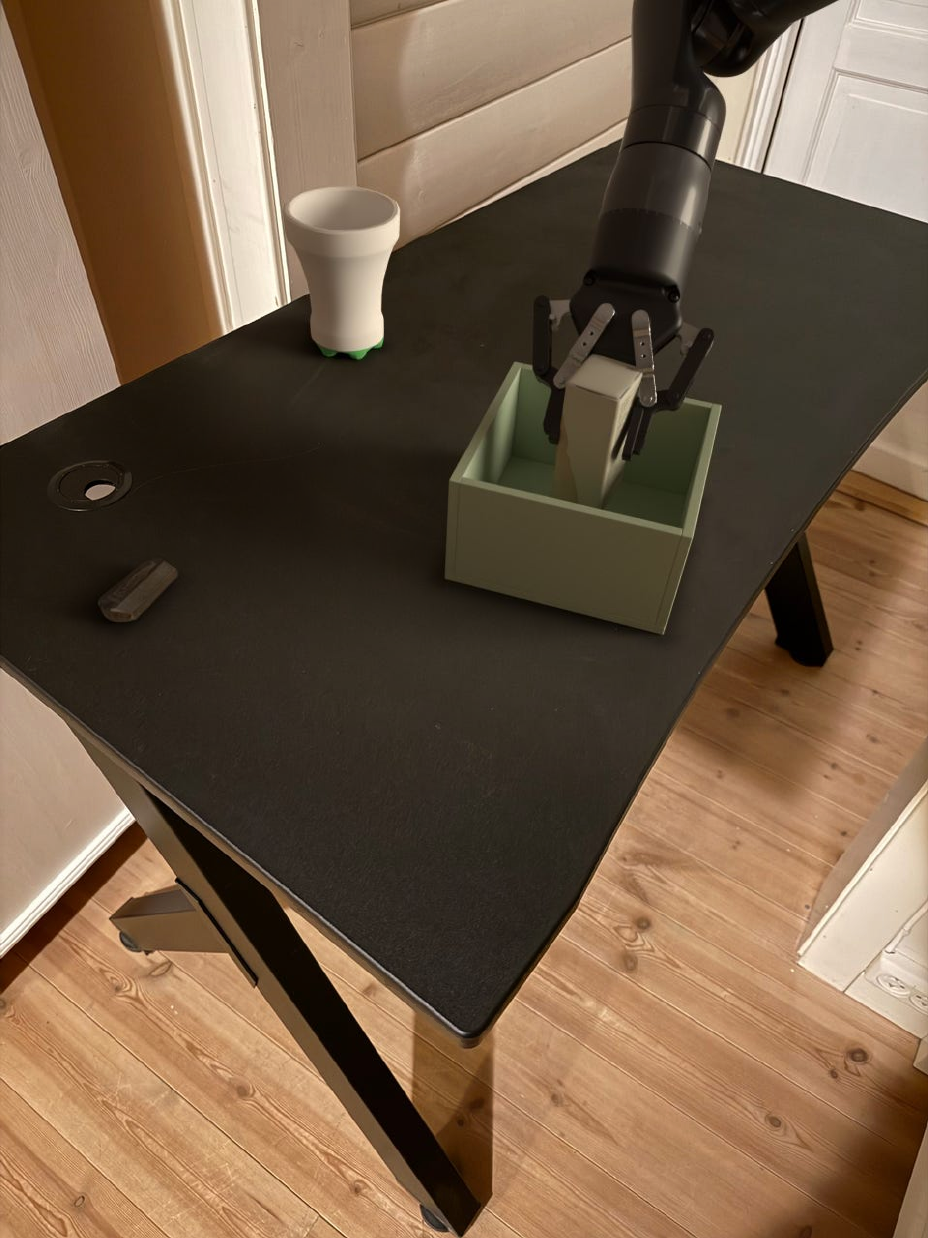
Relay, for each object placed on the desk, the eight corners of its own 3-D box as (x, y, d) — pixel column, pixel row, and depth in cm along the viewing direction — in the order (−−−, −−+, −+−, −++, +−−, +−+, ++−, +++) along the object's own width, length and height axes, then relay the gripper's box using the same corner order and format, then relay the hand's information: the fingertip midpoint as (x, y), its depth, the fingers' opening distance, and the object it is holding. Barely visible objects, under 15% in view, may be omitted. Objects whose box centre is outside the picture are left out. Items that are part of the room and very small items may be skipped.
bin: (694, 499, 81) (722, 404, 74) (663, 635, 69) (692, 538, 62) (504, 456, 84) (514, 361, 77) (444, 579, 72) (448, 480, 65)
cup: (421, 340, 98) (424, 206, 87) (353, 383, 91) (347, 243, 81) (342, 307, 102) (336, 175, 92) (272, 345, 95) (257, 208, 85)
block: (182, 582, 70) (178, 564, 69) (129, 631, 67) (124, 613, 65) (146, 566, 71) (141, 549, 70) (91, 613, 68) (85, 596, 66)
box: (574, 468, 76) (594, 349, 68) (622, 486, 74) (648, 366, 66) (547, 502, 72) (564, 380, 64) (596, 521, 71) (620, 399, 63)
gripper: (550, 187, 65) (490, 419, 66) (751, 222, 62) (687, 463, 63) (558, 232, 72) (505, 440, 73) (739, 265, 70) (681, 480, 70)
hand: (590, 449), depth 68 cm, fingers closed on box, 5 cm apart
